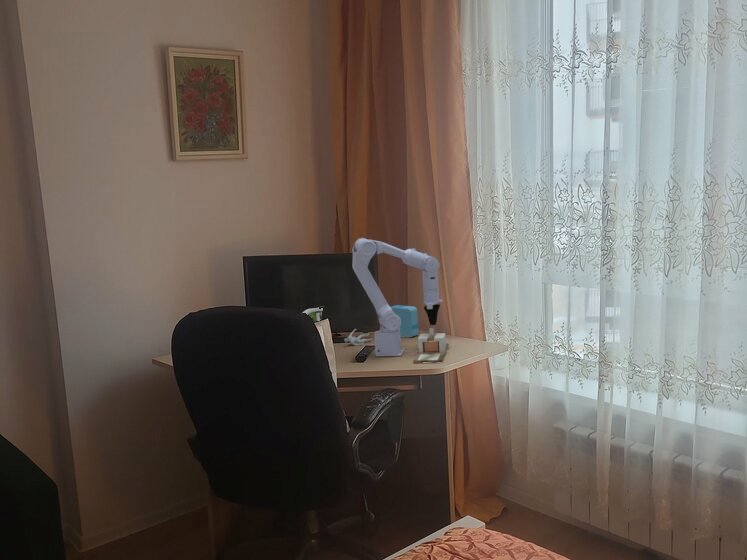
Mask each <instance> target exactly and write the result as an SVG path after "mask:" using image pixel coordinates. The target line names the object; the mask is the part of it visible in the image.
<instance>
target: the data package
mask: <svg viewBox="0 0 747 560" xmlns="http://www.w3.org/2000/svg"><path fill="white" fill-rule="evenodd" d="M390 307H391V309H392V310H393V312H394V313H395V314H396V315H398V316H399V317H400V319H401V326H400V327H399V328H400V336H404V337H403V338H407V337H411V338H414V337H416V335H417V336H418V335H420V334H419V333H420V332H419V317H418V314H419V313H418V309H417V307H416V306H414V305H413V306H410V305H401V304H395V305H392V306H390ZM413 336H414V337H413Z"/></svg>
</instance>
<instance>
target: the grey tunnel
mask: <svg viewBox="0 0 747 560" xmlns="http://www.w3.org/2000/svg"><path fill="white" fill-rule="evenodd" d="M429 338H430V336H429V333H420V334H419V336H418V337H417V346H418V349H417V350H418V351H419V353H423V352H424V350H425V348H424V342H427V341H428V339H429ZM435 341H439V351H440V352H444V351H445V349H446V344H447V338H446V332H439V333H438V332H437V333H435V334H434V342H435ZM418 351H417V352H418Z"/></svg>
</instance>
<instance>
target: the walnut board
mask: <svg viewBox="0 0 747 560" xmlns="http://www.w3.org/2000/svg"><path fill="white" fill-rule="evenodd" d="M448 346H449V343H446V349H445V351H444V352H440V351H425V350H424V352H423V353H419V351H417V352H416V355H415V357H414V359H413V361H412V363H413V364H424V363H423V362H442V361H444V359H445V357H444V356H446V353H447V352H446V351H448V348H449V347H448ZM443 358H444V359H443ZM442 363H443V362H442Z"/></svg>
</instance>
